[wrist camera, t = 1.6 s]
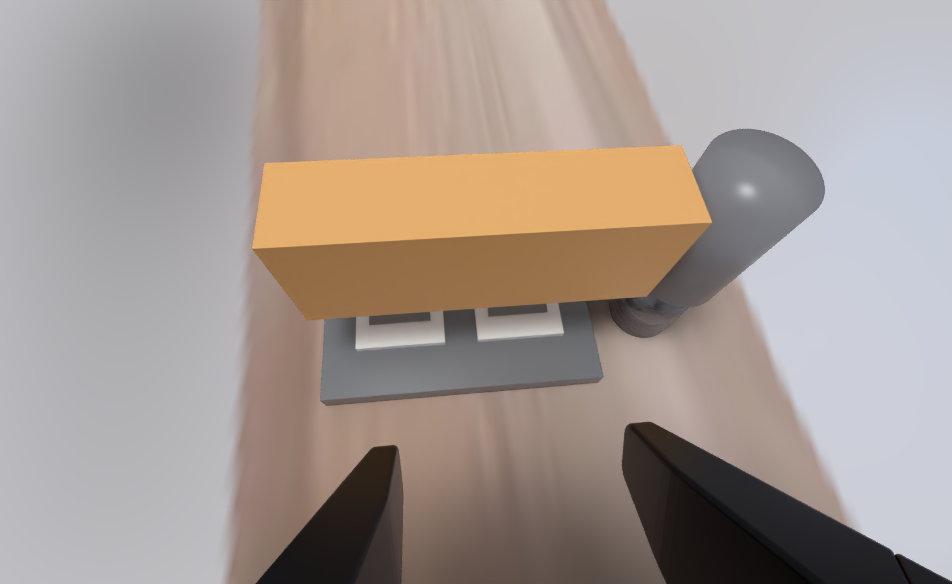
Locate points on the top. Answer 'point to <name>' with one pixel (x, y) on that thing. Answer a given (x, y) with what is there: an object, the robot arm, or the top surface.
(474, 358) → the label plate
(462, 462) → the top surface
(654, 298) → the grey grooved cylinder
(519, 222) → the swing bar
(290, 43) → the top surface
